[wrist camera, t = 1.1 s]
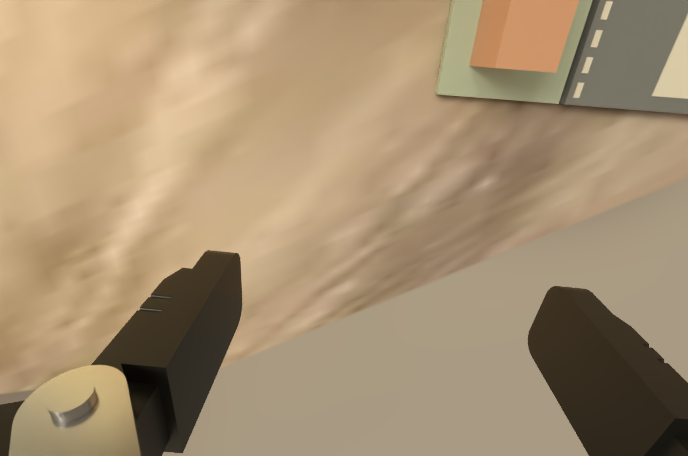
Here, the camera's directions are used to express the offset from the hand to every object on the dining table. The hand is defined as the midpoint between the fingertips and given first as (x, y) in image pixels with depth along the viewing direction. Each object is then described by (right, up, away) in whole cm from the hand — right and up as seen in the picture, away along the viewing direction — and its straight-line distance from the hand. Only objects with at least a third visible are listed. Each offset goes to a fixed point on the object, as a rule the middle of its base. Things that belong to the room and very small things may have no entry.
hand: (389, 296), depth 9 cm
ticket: (+21, +15, +15) cm, 30 cm away
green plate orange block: (+10, +16, +15) cm, 24 cm away
